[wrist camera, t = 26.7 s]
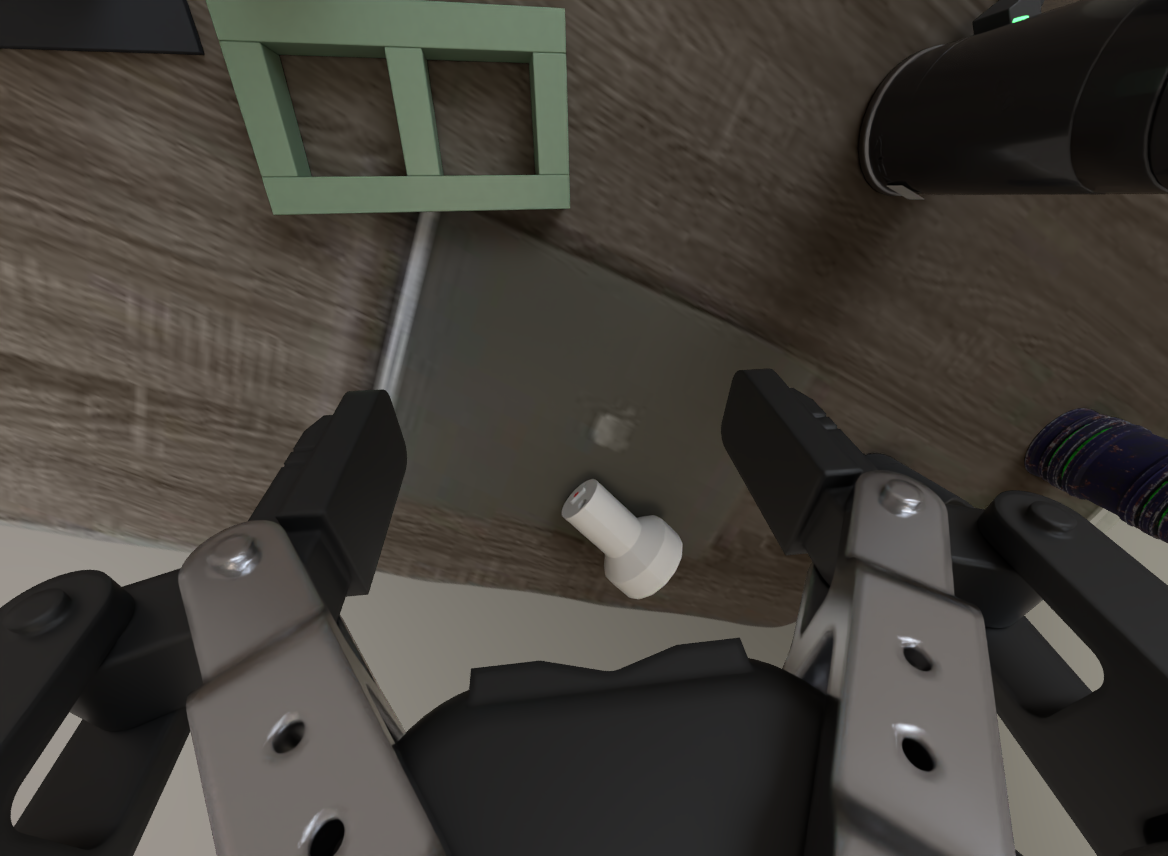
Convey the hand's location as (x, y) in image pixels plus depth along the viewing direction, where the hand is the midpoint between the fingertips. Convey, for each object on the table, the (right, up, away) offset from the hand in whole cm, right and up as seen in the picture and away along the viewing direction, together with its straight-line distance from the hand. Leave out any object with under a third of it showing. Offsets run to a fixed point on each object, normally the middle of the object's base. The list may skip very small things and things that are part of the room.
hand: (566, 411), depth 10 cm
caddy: (-10, +19, +17) cm, 28 cm away
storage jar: (+61, -2, +45) cm, 75 cm away
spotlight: (+3, -9, +36) cm, 37 cm away
